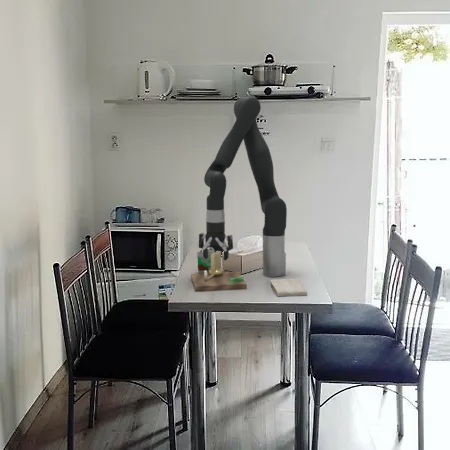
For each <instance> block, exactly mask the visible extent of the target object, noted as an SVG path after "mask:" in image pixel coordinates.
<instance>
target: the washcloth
mask: <svg viewBox="0 0 450 450" xmlns="http://www.w3.org/2000/svg"><path fill="white" fill-rule="evenodd" d="M270 287H271V288H272V290H273V292H274V294H275V296H276V297H299V296H300V297H301V296H304V297H305V296H307V295H308V292H307V290H306V288H305V287H304V285H303V284H302V283H301V280H299V278H287V279H285V278H275V279H274V278H273V279H271V280H270Z"/></svg>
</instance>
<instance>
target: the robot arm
mask: <svg viewBox="0 0 450 450" xmlns="http://www.w3.org/2000/svg"><path fill="white" fill-rule="evenodd" d="M261 107H262V106H261V103H260V101H259V99H258V98H257V97H254V96H252V95H247V96H243V97H240V98H237V100H236V101H235V102H234V104H233V113H234V115H235V118H236V119H235V122H234V123H233V126H232V128H231V129H230V131H229V132H228V134H227V135H226V137H225V138H224V140H223V141H222V143H221V145H220V147H219V149H218V152H217V154H216V156H215V158H214V160H213V161H212V162H211V164H210V166H209V167H208V168H207V170H206V172H205V173H204V177H203V180H204V184H205V185H206V186H207V187H209V195H207V196H206V213H205V224H206V225H205V228H206V229H205V230H206V231H205V233H204V232H201V233H200V234H198V248H199V249H201V250H203V256H204V257H205V259H207V258H208V249H207V248H208V247H209V245H210V244H211V245H220V246H221V247H222V248H223V250H224V256H223V261H228V259H229V257H230V256H229V255H230V254H229V251H231V250H233V249H234V241H233V235H232V234H229V235H226V233H225V232H226V227H225V223H226V218H225V217H226V215H225V195H226V190H227V177H226V176H225V171H226V170H227V169H229V168H230V167H231V166H232V164H233V162H234V160H235V158H236V156H237V154H238V151H239V149H240V146H241V144H242V143H243V142H244V143H243V144H244V147H245V150H246V154H247V155H246V156H247V158H248V159H247V160H248V162H249V165H250V169H251V173H252V176H253V178H254V180H255V184H256V186H257V190H258V196H259V201H260V208H261V211H262V213H263V214H264V223H263V224H264V225H263V228H262V275H263V276H265V277H270V278H271V277H272V278H276V277H284V276H286V275H287V274H286V267H287V266H286V265H287V261H286V260H287V253H286V252H285V249H286V247H285V243H286V242H285V239H286V238H285V237H286V236H285V235H286V234H285V233H286V229H287V219H288V218H287V215H288V214H287V212H288V211H287V204H286V202H285V201H284V200H283V198H281V197H280V196H279V193H278V191H277V188H276V184H275V178H274V164H273V158H272V155H271V151H270V149H269V146H268V144H267V141H266V140H265V138H264V136H263V135H262V133H261V132H260V128H259V127H258V122H257V117H258V116H259V115H260V112H261ZM205 237H206V238H207V240H208V241H207V242H205ZM224 239H225V240H226V241H227V243H226V241H224ZM204 243H205V244H204Z"/></svg>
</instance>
